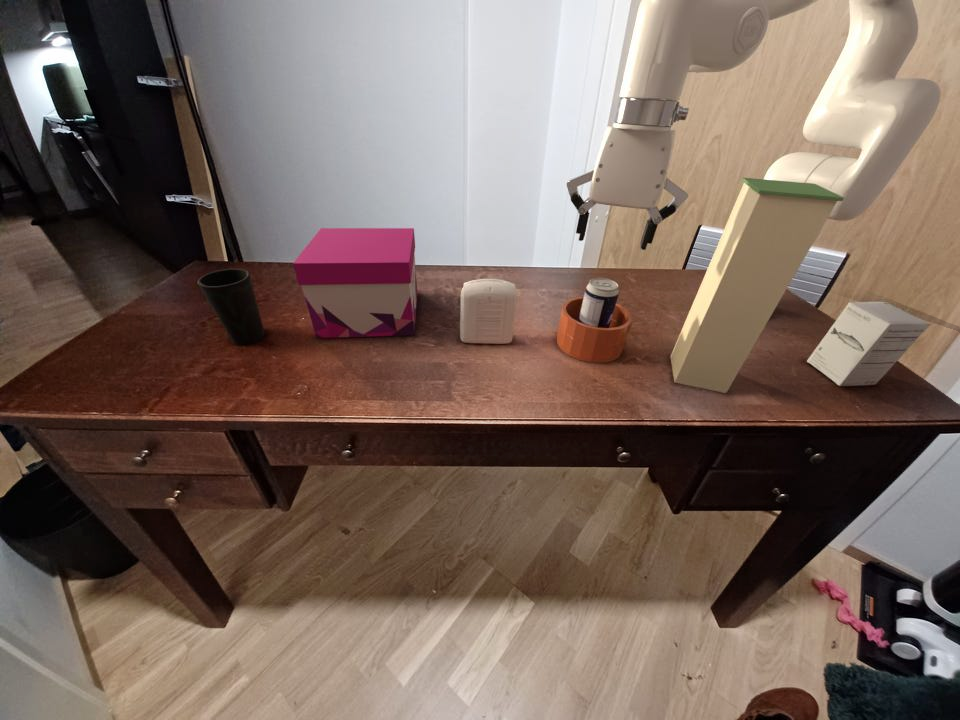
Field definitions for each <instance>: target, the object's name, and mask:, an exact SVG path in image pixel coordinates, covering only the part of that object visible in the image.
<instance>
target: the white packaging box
mask: <svg viewBox="0 0 960 720" xmlns="http://www.w3.org/2000/svg"><path fill="white" fill-rule="evenodd" d="M930 326H931V323H930V322H928V321H925V320H924V319H921V318H919V317H918V316H916V315H913V314H911V313H909V312H907V311H905V310H903V309H901V308H899V307H897V306H895V305H894V304H891V303H889V302H886V301H851V302H848V304H847V305H846V306H845V308H843V310H842V311H841V313H840V314H839V316H838V317H837V319H836V320H835V322H833V324H832V325H831V327H830V328H829V330H828V331H827V332H826V334H825V335H824V336H823V338H822V339H821V340H820V342H819V343H818V345H817V346H816V347H815V349H814V350H813V352H812V353H811V354H810V356H809V357H808V359H807V360H806V362H807V363H808V364H810V365H811V366H813V367H814V368H815V369H817V370H818V371H819V372H821V373H822V374H823V375H825V376H826V377H827V378H828V379H830V380H831V381H832V382H834V383H835V385H837V386H839V387H854V386H855V387H856V386H874V385H876V384H877V383H878V382H880V380H881V379H882V378H883V377H884V376H886V374H887V373H888V372H889V371H890V370H891V369H892V368H893V366H894V365H895V364H896V363H897V362H898V361H899V360H900V359H901V357H902V356H903V355H905V353H906V352H907V351H908V350H909V349H910V347H912V345H913V344H914V343H915V342H916V341H917V340H918V339H919V338H920V336H921V335H922V334H923V333H924V332H926V330H927V329H928V328H930Z"/></svg>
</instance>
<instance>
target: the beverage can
mask: <svg viewBox="0 0 960 720" xmlns="http://www.w3.org/2000/svg"><path fill="white" fill-rule="evenodd" d="M619 294H620V291H619V284H618V283H617V282H616V281H614V280H613V279H609V278H606V277H605V278H604V277H595V278H592V279H590V280H589V281H588V284H587V285H586V286H585V289H584V294H583V297H584V298H583V303H582V307H581V312H580V317H579V321H578V322H580V323H583V324H585V325H588V326H593V327H598V328H609V327H610V323H611V320H612V316H613V313H614V309H615V306H616V303H617V301H618V298H619Z"/></svg>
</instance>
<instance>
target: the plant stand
mask: <svg viewBox="0 0 960 720" xmlns="http://www.w3.org/2000/svg"><path fill="white" fill-rule="evenodd" d="M836 203H837V201H834V200H823V199H812V198H802V197H791V196H780V195H769V194H758V193H757V192H756V191H754V190H753V189H752V188H751V187H749V186H748V185H747V184H745V183H744V182H743V184H742V187H741V188H740V191H739V194H738V196H737V199H736V201H735V204H734V205H733V208H732V210H731V213H730V214H729V217H728V219H727V221H726V224H725V227H724V229H723V231H722V234H721V237H720V238H719V240H718V243H717V246H716V247H715V251H714V252H713V255H712V258H711V260H710V261H709V265H708V267H707V269H706V272H705V274H704V276H703V279H702V281H701V283H700V285H699V288H698V291H697V293H696V295H695V298H694V300H693V302H692V305H691V307H690V309H689V311H688V314H687V317H686V319H685V321H684V323H683V326H682V328H681V331H680V332H679V335H678V338H677V340H676V343H675V344H674V347H673V350H672V352H671V354H670V357H669V358H670V362H671V370H672V377H673V382H674V384H675V383H676V384H680V385H685V386H690V387H694V388H699V389H704V390H707V391H708V390H709V391H713V392H716V393H717V392H718V393H722V394H727V393H728V391H729V389H730V388H731V386H732V384H733V382H734V380H735V379H736V377H737V375H738V374H739V372H740V371H741V369H742V367H743V365H744V363H745V362H746V360H747V358H748V357H749V355H750V353H751V352H752V350H753V348H754V346H755V344H756V343H757V341H758V339H759V338H760V336H761V334H762V332H763V330H765V327H766V325H768V322H769V321H770V319H771V317H772V315H773V314H774V311H775V310H776V308H777V306H778V305H779V303H780V301H781V300H782V298H783V296H784V294H785V293H786V291H787V289H788V288H789V286H790V284H791V282H792V280H793V279H794V277H795V275H796V274H797V272H798V270H799V269H800V266H801V265H802V263H803V261H804V259H805V258H806V256H807V255H808V253H809V252H810V250H811V248H812V246H813V244H814V243H815V241H816V239H817V238H818V236H819V234H820V233H821V231H822V229H823V228H824V225H825V223H826V222H827V220H828V217H829V215H830V213H831V211H832V210H833V208H834V206H835V204H836Z"/></svg>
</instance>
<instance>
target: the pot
mask: <svg viewBox="0 0 960 720" xmlns="http://www.w3.org/2000/svg"><path fill="white" fill-rule="evenodd" d="M583 298H584V296H578V297H573V298H570V299H568V300H567V301H565V302H564V303H563V305H562V307H561V312H560V317H559V323H558V328H557V333H556V343H557V346H558V347H559V349H560V350H561V351H562V352H564V353H565V354H566V355H568V356H570V357H572V358H573V359H576V360H579V361H583V362H586V363H587V362H588V363H596V364H601V363H609V362H612V361H615V360H616V359H618V358H619V357H620V356H621V355H622V353H623V351H624V347H625V344H626V341H627V338H628V335H629V332H630V330H631V326H632V323H633V316H632V314H631V312H630V310H628V309H627V308H626V307H625V306H624V305H622V304H619V303H617V302H616V306H615V309H614V313H613V316H612V320H611V323H610V327H609V328H598V327H593V326H588V325H585V324H583V323H580V322H578V321H579V317H580V312H581V307H582V303H583Z"/></svg>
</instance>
